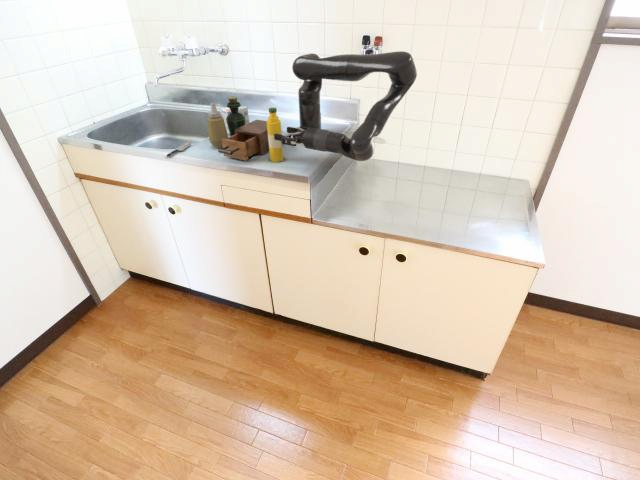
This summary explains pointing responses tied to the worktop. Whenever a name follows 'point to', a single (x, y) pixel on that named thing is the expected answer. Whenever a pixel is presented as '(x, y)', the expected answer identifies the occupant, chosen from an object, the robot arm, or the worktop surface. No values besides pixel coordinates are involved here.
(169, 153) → the chef's knife
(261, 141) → the cabinet
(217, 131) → the squeeze bottle
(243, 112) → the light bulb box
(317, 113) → the robot arm
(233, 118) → the potion bottle
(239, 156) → the drawer
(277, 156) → the lemon bottle
